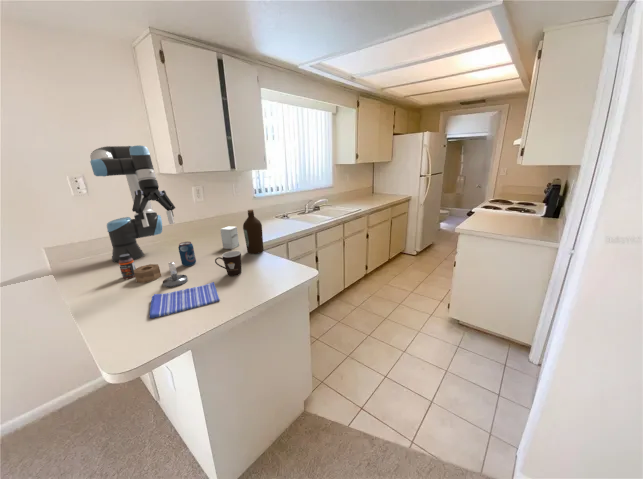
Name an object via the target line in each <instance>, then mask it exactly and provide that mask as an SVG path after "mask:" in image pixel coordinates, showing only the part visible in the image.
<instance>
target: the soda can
mask: <svg viewBox="0 0 643 479" xmlns="http://www.w3.org/2000/svg"><path fill="white" fill-rule="evenodd" d="M178 252H179V257H180V262H181V265H182V266H183V267H186V266H187V267H192V266H194V265H195V264H196V262H197V259H196V254H195V249H194V245H193V243H192V242H191V241H183V242H180V243H179V244H178Z"/></svg>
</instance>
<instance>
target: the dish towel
mask: <svg viewBox="0 0 643 479" xmlns="http://www.w3.org/2000/svg"><path fill="white" fill-rule="evenodd" d="M217 302H220V297H219V294H218V290H217V287H216V285H215V282H214V281H213V282H212V281H211V282H210V283H206V284H203V285H200V286H194V287H189V288H185V289H180V290H174V291H173V292H167V293H166V292H165V293H155V294H153V295H152V297H151V301H150V308H149V318H150V319H152V318H153V319H155V317H156V318H160V316H161V317H165V316H164V315H166V316H169V314H170V315H173V313H174V314H177V313H181V312H185V311H188V309H189V310H193V309H197V308H201V307H204V306H208V305H211V304H215V303H217ZM180 311H181V312H180Z"/></svg>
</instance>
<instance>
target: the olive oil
mask: <svg viewBox="0 0 643 479" xmlns="http://www.w3.org/2000/svg"><path fill="white" fill-rule="evenodd" d="M242 230H243V235H244V240H245V244H246V252H247V254H250V255H257V254H261V253H263V252H264V239H263V225H262V222H261V221H260V220H259V219H258V218H257V217H256V216H255V212H254V209H248V210H247V218H246V219H245V221H244V222H243V225H242Z"/></svg>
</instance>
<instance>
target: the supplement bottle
mask: <svg viewBox="0 0 643 479" xmlns="http://www.w3.org/2000/svg"><path fill="white" fill-rule="evenodd" d="M119 257H120V260H119V262H117V263H118V266H119V270H120V273H121V276H122V278H123V279H125V280H128V279H133V278H135V274H134V270H135V269H137V268H136V264H135V260H133V258H131V257H130V255H129V254H123V255H120V256H119Z"/></svg>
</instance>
